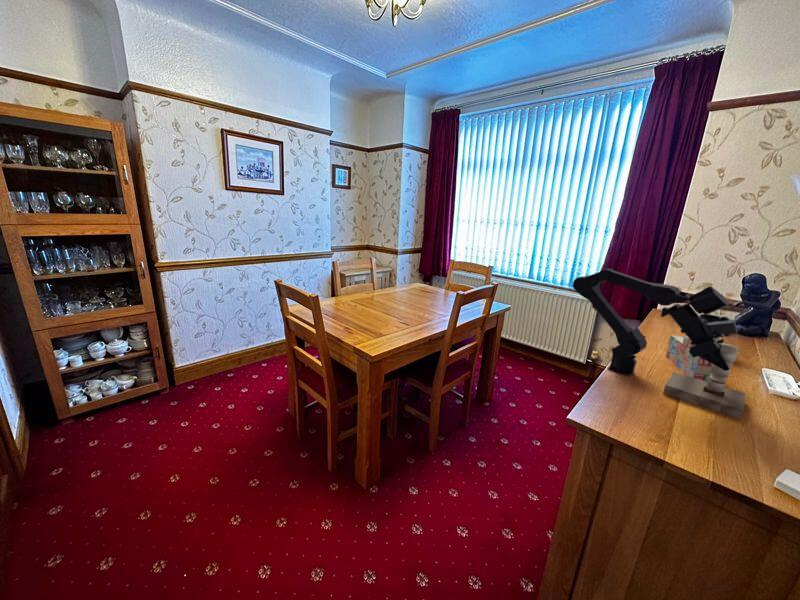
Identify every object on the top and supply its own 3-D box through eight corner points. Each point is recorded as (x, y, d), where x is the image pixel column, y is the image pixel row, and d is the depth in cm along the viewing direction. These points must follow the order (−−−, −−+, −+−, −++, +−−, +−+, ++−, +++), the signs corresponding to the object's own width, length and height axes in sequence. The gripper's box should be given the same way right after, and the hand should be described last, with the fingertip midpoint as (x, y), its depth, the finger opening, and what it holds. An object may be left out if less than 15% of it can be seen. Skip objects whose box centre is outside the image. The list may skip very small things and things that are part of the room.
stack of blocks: (664, 356, 130) (672, 327, 127) (683, 359, 128) (691, 330, 125) (692, 381, 111) (702, 347, 107) (715, 384, 109) (726, 350, 106)
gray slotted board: (662, 393, 101) (665, 384, 100) (671, 380, 110) (673, 372, 109) (740, 419, 89) (743, 410, 88) (742, 402, 98) (745, 393, 97)
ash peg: (703, 388, 97) (717, 345, 94) (705, 384, 100) (718, 341, 97) (723, 394, 94) (738, 350, 91) (724, 389, 97) (739, 346, 94)
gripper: (717, 314, 88) (763, 366, 83) (723, 303, 100) (763, 348, 95) (672, 332, 95) (712, 381, 90) (683, 321, 108) (718, 363, 103)
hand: (728, 368), depth 94 cm, fingers closed on ash peg, 4 cm apart
